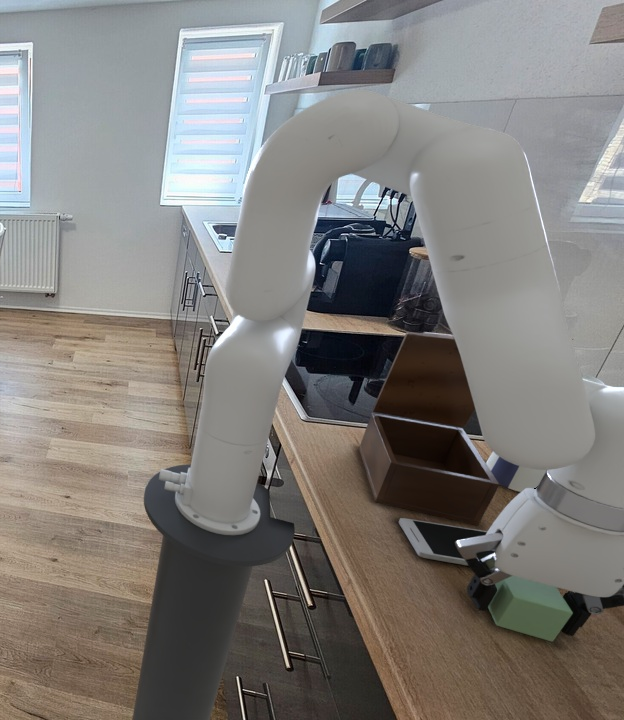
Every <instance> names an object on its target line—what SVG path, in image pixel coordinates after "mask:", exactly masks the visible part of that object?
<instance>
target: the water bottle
mask: <svg viewBox="0 0 624 720" xmlns="http://www.w3.org/2000/svg"><path fill="white" fill-rule="evenodd" d="M571 339H572V341H574V338H572V337H571ZM581 375H582V378H583V379H585V380H589V381H592V382H596V383H599V384H603V385H606V384H605V383H604V381H602V380H600V379H599V378H597V377H595V376H592V375H589V374H587V373H584V372H581ZM485 463H486V464H487V466H488V467H489V469H490V471H491V472H492V474H493V475H494V477H495V478H496V480H497V481H498V483H499V484H500V485H499V486H502V487H504V488H507V489H510V490H513V491H516V492H519V493H520V492H522V491H523V490H524V489H526V488H533V489H534V488H536V487H537V486H538V485H539V483H540V481H541V480H542V478H543V476H544V474H545V473H546V471H547V470H538V469H530V468H524V467H521V466H518V465H515V464H512V463H510V462H508V461H506V460H504V459H502V458H501V457H499V456H498V455H497V454H495V453H494V452H493V451H492V452H491V453H490V455H489V457H488V459H487V461H486V462H485Z"/></svg>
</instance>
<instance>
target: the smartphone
mask: <svg viewBox="0 0 624 720" xmlns="http://www.w3.org/2000/svg"><path fill="white" fill-rule="evenodd" d="M398 524H399V526H400V527H401V529H402V531H403V533H404V534H405V536H406V537H407V539H408V541H409V542H410V544H411V546H412V547H413V549H414V551H415V553H416V554H417V556H418V557H419V558H423V559H428V560H433V561H440V562H445V563H450V564H451V563H452V564H456V565H462V566H468V564H467V562H466V561H465V560H464V558H463V557H462V555H461V554H460V552H459V551H458V549H457V547H456V545H455V541H457V540H461V539H466V538H472V537H477V536H483V535H486V533H487V532H488V530H482V529H475V528H470V527H469V528H468V527H462V526H455V525H449V524H444V523H437V522H431V521H424V520H419V519H413V518H412V519H411V518H405V517H400V518H399V521H398ZM494 552H495V551H492V550H490V551H484V552H479V553H477V554H476V555H477V556H478V557H479V558H480V559H482V558H484V557H486V556H488V555H490V554H492V553H494ZM468 567H469V566H468ZM494 569H496V567H494V568H491V569H489V570H490V571H492V570H494Z"/></svg>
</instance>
